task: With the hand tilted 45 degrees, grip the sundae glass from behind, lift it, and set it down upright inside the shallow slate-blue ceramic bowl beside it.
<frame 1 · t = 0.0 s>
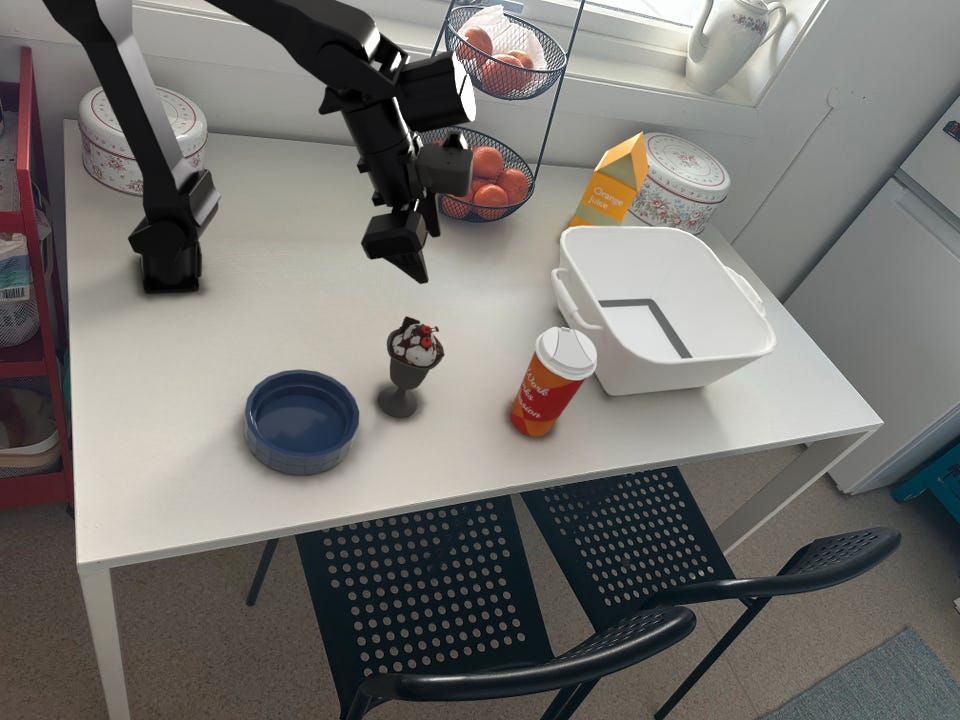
hand: (430, 258, 85), 15 cm above the table, tool tilted 35°, fingers open, 9 cm apart
tub: (628, 350, 108), on the table
bowl: (300, 431, 81), on the table
sundae: (398, 403, 88), on the table
paper cup: (530, 420, 92), on the table
orange juice: (587, 241, 125), on the table
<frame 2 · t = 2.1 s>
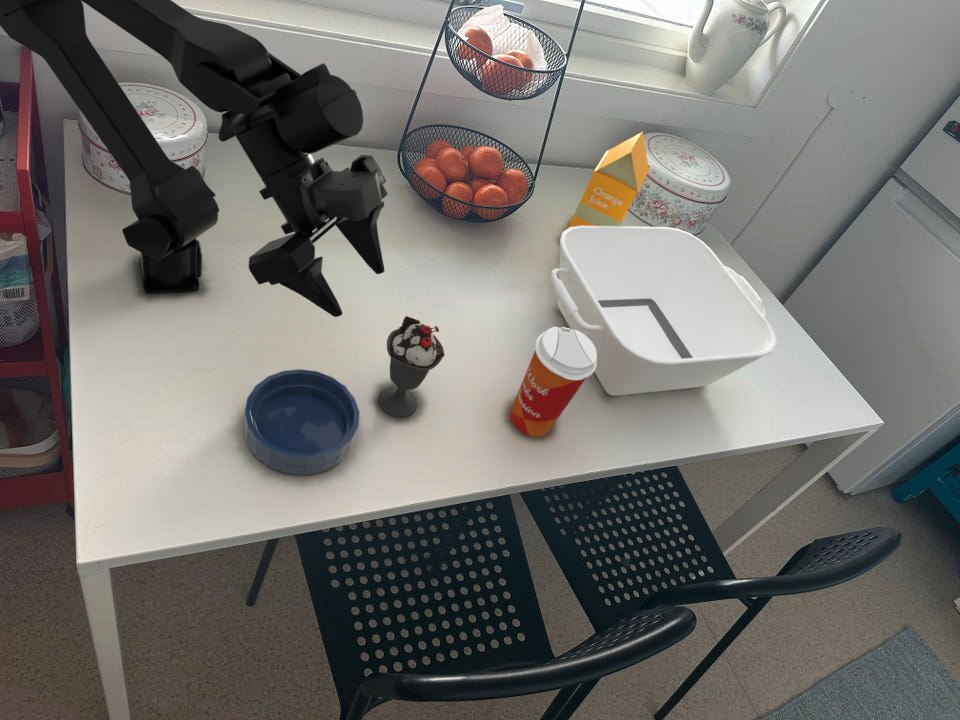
hand: (360, 293, 79), 13 cm above the table, tool tilted 45°, fingers open, 9 cm apart
nothing on the table moved.
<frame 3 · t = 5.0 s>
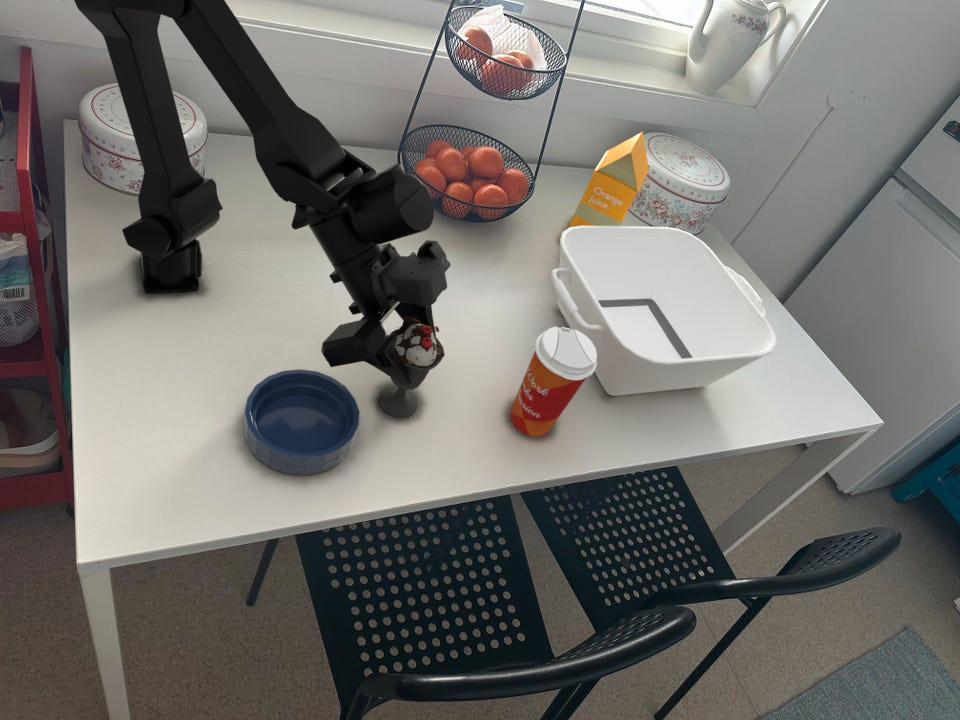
hand: (421, 367, 83), 8 cm above the table, tool tilted 45°, fingers closed on sundae, 6 cm apart
sundae: (398, 403, 88), on the table, touching gripper
everything else where it was.
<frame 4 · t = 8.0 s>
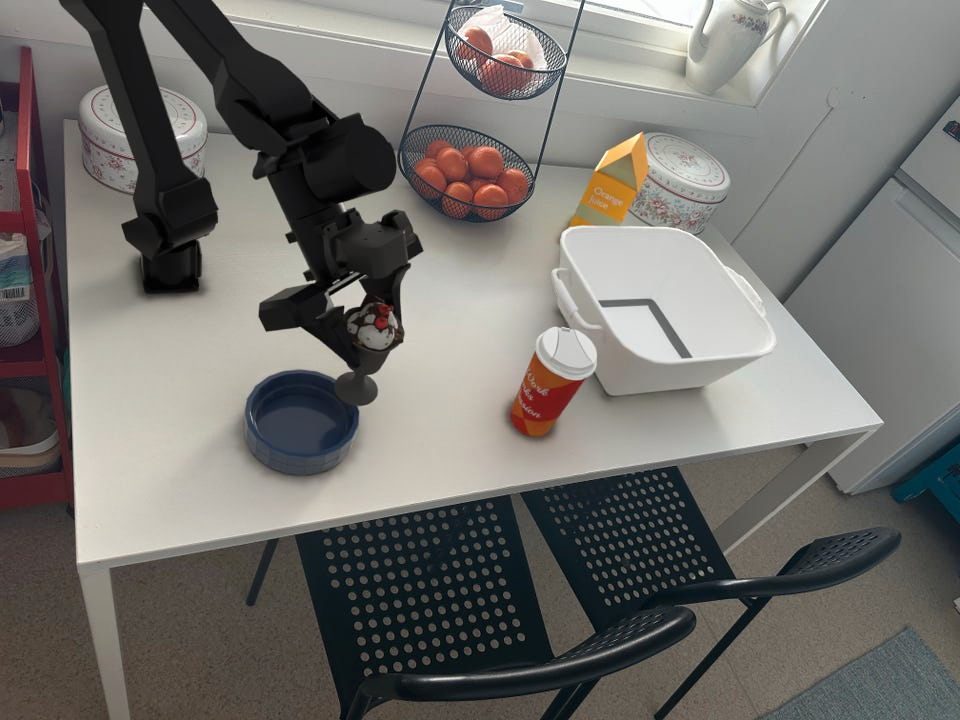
hand: (378, 352, 74), 13 cm above the table, tool tilted 45°, fingers closed on sundae, 6 cm apart
sundae: (356, 390, 80), point 5 cm above the table, touching gripper
everything else where it was.
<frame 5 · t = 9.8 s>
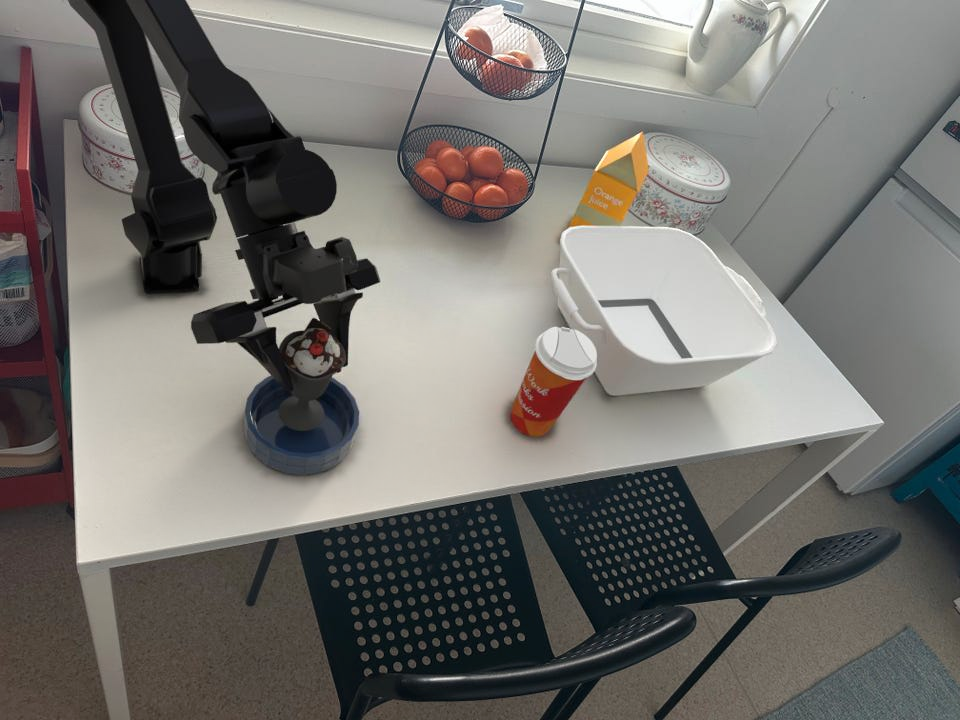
hand: (317, 378, 73), 11 cm above the table, tool tilted 45°, fingers closed on sundae, 6 cm apart
sundae: (301, 414, 79), point 3 cm above the table, touching gripper
everything else where it was.
when the fingers open (8 cm above the table, at t = 11.1 s): sundae stays where it is, resting on bowl.
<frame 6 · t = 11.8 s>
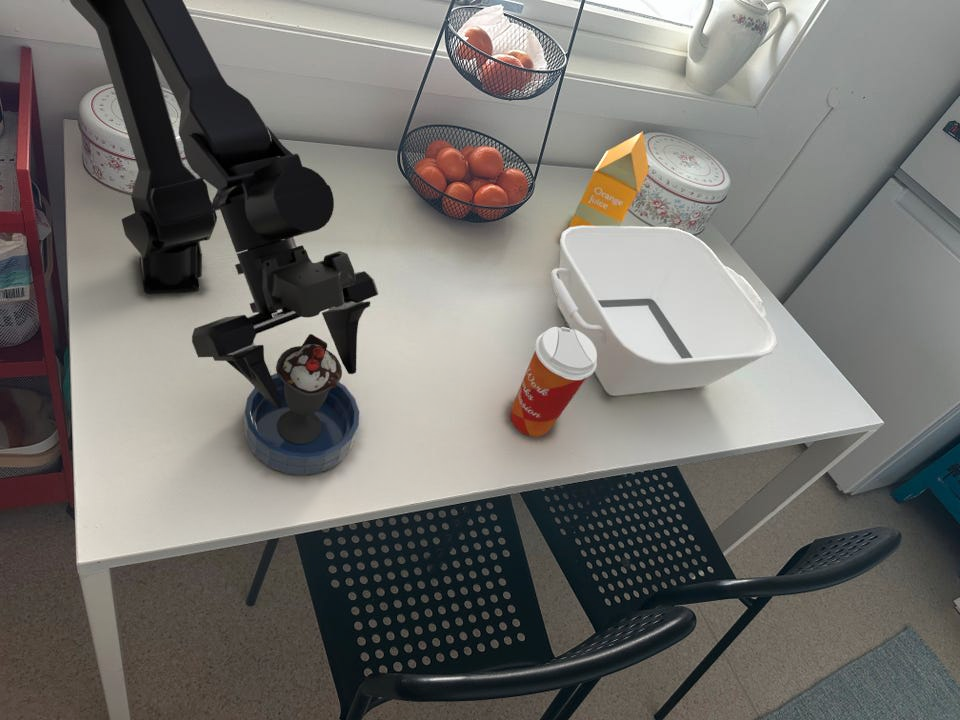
hand: (317, 390, 74), 9 cm above the table, tool tilted 45°, fingers open, 9 cm apart
sundae: (299, 428, 81), resting on bowl
everything else where it was.
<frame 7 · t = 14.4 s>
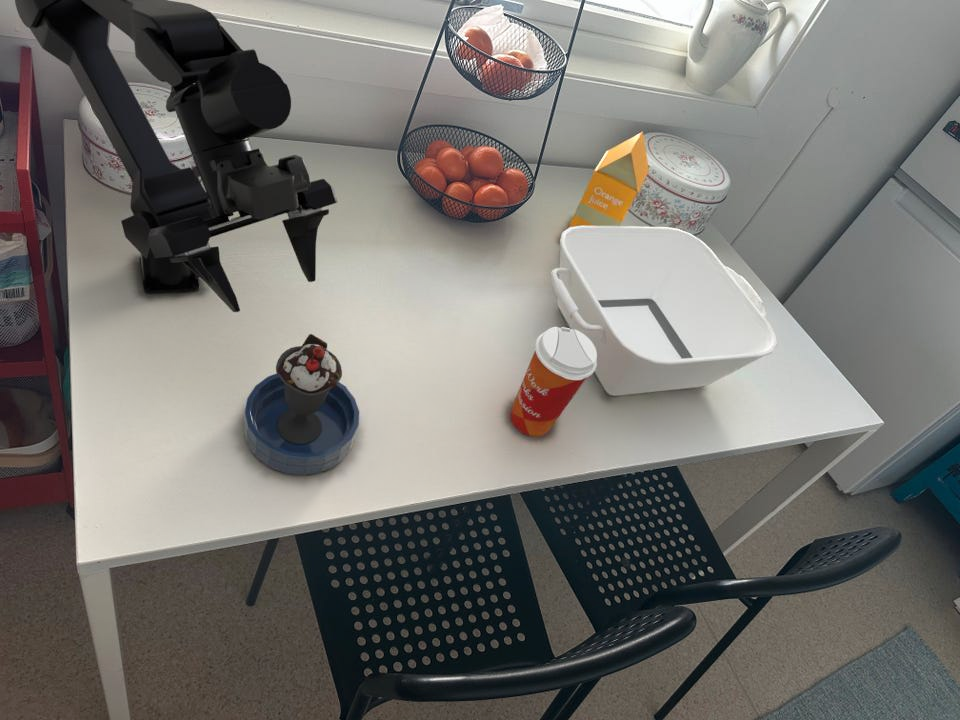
hand: (275, 296, 76), 13 cm above the table, tool tilted 40°, fingers open, 9 cm apart
nothing on the table moved.
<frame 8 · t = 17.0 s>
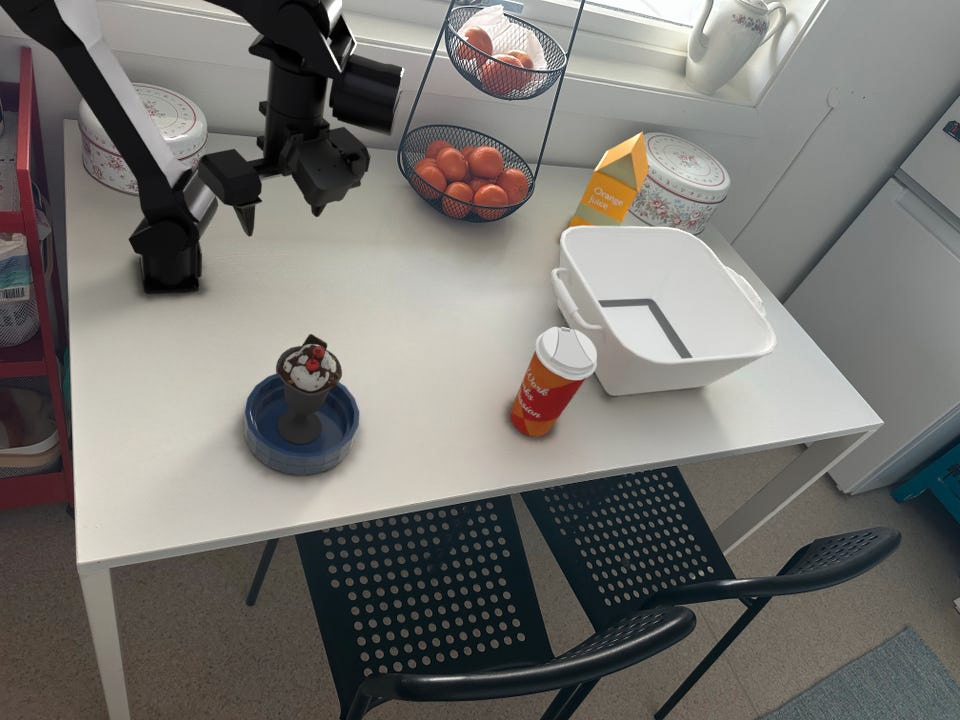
hand: (282, 224, 84), 13 cm above the table, tool pointing down, fingers open, 9 cm apart
nothing on the table moved.
at the end: sundae 0.2 cm off-centre in the bowl, point 0.4 cm above the bowl's base; sundae tilted 0°; the gripper is holding nothing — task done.
